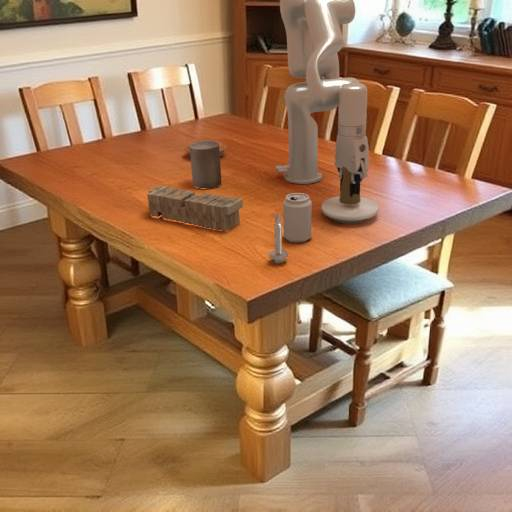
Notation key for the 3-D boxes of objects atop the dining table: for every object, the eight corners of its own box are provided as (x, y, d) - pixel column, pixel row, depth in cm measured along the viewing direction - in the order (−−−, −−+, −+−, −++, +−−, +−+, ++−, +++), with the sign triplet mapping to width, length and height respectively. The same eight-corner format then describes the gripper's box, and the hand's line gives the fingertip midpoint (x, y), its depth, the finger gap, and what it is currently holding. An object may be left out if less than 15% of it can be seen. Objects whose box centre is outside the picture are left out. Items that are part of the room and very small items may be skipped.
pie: (235, 153, 257) (234, 141, 255) (211, 165, 245) (210, 151, 243) (202, 149, 264) (201, 136, 262) (177, 159, 252) (176, 146, 250)
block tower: (146, 220, 201) (229, 234, 187) (142, 193, 197) (227, 205, 183) (162, 211, 207) (244, 224, 193) (159, 185, 203) (242, 196, 189)
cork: (361, 197, 195) (362, 160, 191) (359, 204, 190) (361, 167, 185) (340, 196, 197) (341, 159, 192) (338, 203, 191) (339, 166, 187)
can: (282, 233, 185) (281, 192, 180) (309, 232, 186) (309, 190, 181) (285, 244, 179) (284, 201, 174) (313, 243, 179) (313, 200, 174)
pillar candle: (226, 181, 227) (224, 137, 220) (213, 191, 219) (209, 145, 212) (201, 179, 231) (198, 135, 224) (187, 188, 223) (183, 143, 216)
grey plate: (319, 226, 189) (319, 214, 188) (323, 205, 204) (324, 194, 202) (377, 228, 187) (377, 216, 185) (378, 207, 201) (378, 196, 199)
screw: (292, 260, 169) (279, 267, 166) (277, 255, 172) (264, 262, 169) (291, 212, 164) (278, 218, 161) (276, 208, 167) (263, 213, 164)
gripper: (382, 134, 180) (379, 199, 187) (344, 121, 193) (342, 183, 201) (359, 139, 176) (357, 205, 184) (322, 125, 189) (322, 188, 197)
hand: (349, 193), depth 192 cm, fingers closed on cork, 3 cm apart
